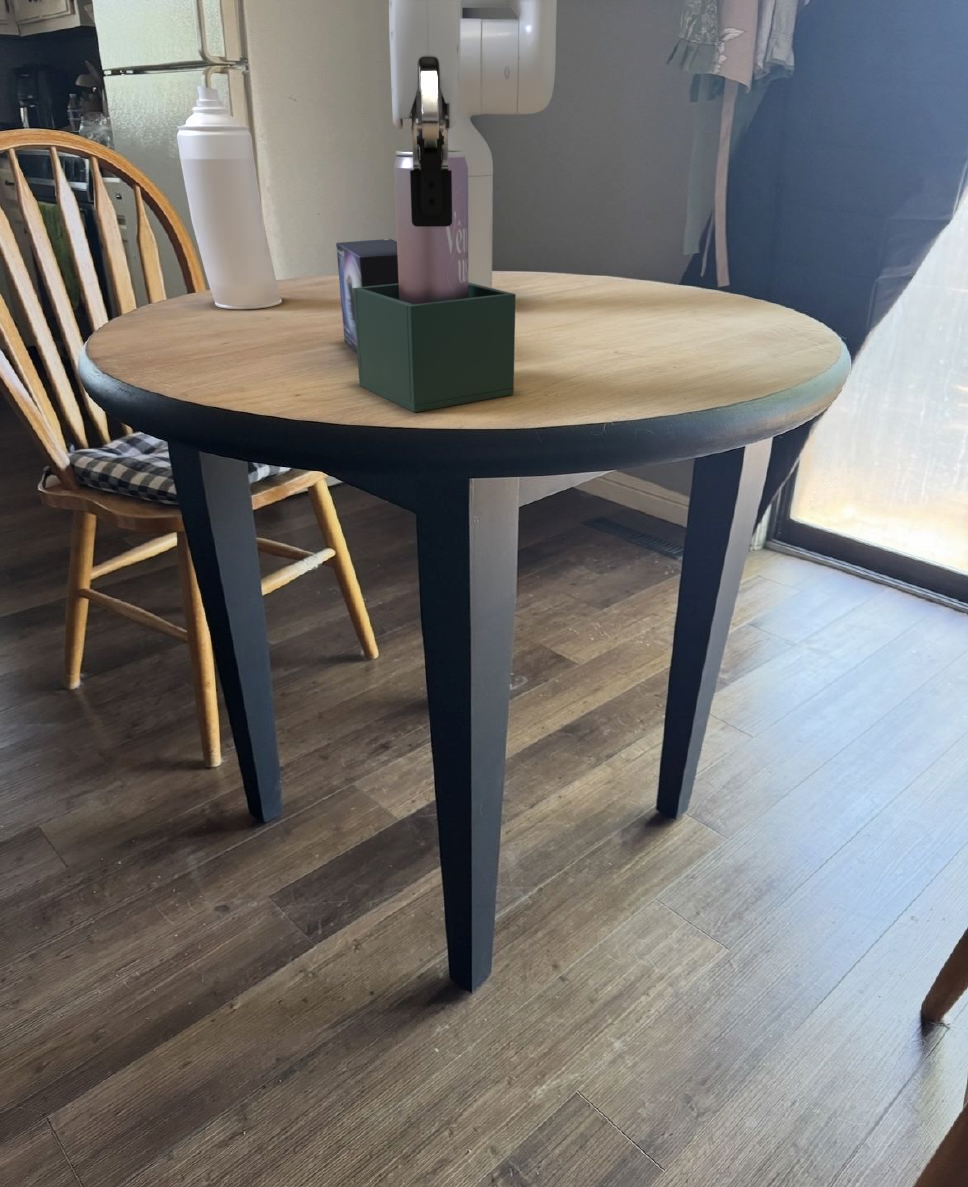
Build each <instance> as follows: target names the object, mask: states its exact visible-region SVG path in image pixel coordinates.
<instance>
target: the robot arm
mask: <svg viewBox="0 0 968 1187" xmlns="http://www.w3.org/2000/svg"><path fill="white" fill-rule="evenodd" d="M557 5H558V0H388V33H389V34H388V35H389V38H388V39H389V59H390V60H389V61H390V62H389V63H390V85H391V86H390V88H391V108H392V112H391V113H392V125H394V127H395V128H396V129H397V130H403V129H404V128H403V126H404V123H403V122H404V120H411V127H410V130H411V132H410V133H411V140H412V141H411V144H412V150H413V170H410V184H411V215H412V224H413V225H414V226H416V227H447V226H450V225H451V224H452V170H449V155H448V150H454V151H465V153H466V155H465V159H466V163H467V166H468V282H469V283H473V284H477V285H481V286H485V287H489V288H493V226H494V225H493V224H494V222H493V220H494V218H493V217H494V216H493V214H494V213H493V210H494V160H493V156H492V151H491V149H490V147H489V145H488V142H487V141H486V140H485V138H484V137H483V136H482V134H481V133H480V132H479V130H478V129H477V128H476V127H475V126H474V124H473V123H472V120H471V118H473V117H474V116H482V115H532V114H536V113H540V112H543V111H544V110H545V109H546V108H547V107H548V105H549V104H550V102H551V100H552V98H553V94H554V86H555V81H556V80H555V78H556V59H557V58H556V57H557V13H558V11H557V9H558V7H557ZM461 8H462V9H463V8H464V9H465V8H468V9H470V8H472V9H474V8H475V9H478V8H479V9H483V8H484V9H487V8H488V9H490V8H491V9H510V10H512V12H514V14H515V15H516V17H517V18H467V17H466V18H464V17H463V18H461V17H462V14H461ZM419 150H420V159H419ZM441 164H442V170H441Z"/></svg>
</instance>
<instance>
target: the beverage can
mask: <svg viewBox="0 0 968 1187" xmlns="http://www.w3.org/2000/svg"><path fill="white" fill-rule="evenodd" d="M395 155H396V157H395V162H394V166H393V178H394V179H393V180H394V204H395V205H394V206H395V207H394V208H395V225H396V226H395V227H396V230H395V231H396V242H397V255H398V279H399V300H401V301H404V302H407V303H410V304H422V303H430V302H439V301H448V300H457V299H465V298H469V282H468V166H467V163H466V159H465V155H466V153H465V151H454V150H448V155H449V170H452V224H451V225H450V226H447V227H416V226H414V225H413V224H412V215H411V184H410V170H413V149H411V150H410V149H409V150H405V149H404V150H396V151H395ZM419 159H420V150H419ZM441 170H442V164H441Z"/></svg>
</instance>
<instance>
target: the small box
mask: <svg viewBox="0 0 968 1187" xmlns="http://www.w3.org/2000/svg"><path fill="white" fill-rule="evenodd" d="M335 246H336V258H337V268H338V269H337V270H338V280H339V290H340V291H339V294H340V303H341V317H342V327H343V337H344V338H343V339H344V343H345V344H346V345H347V346H348V347H349V348H350V349H351V350H352V351H353V352H354V353H355V354H356V355H357V341H356V325H355V310H354V294H353V288H357V287H367V286H377V285H387V284H397V283H399V279H398V255H397V240H394V239H392V238H383V239H382V238H381V239H371V240H355V241H343V242H342V241H341V242H340V241H339V242H336V243H335Z"/></svg>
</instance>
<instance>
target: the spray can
mask: <svg viewBox="0 0 968 1187" xmlns="http://www.w3.org/2000/svg"><path fill="white" fill-rule="evenodd" d="M197 95H198V99H195V100H196V101H195V103H196V106H193V107H192V108H191V111H192V114H191V115H189V116H188V117H187V118H186V120H185V124H183V125H177V126H176V128H177V129H178V132H177V133H176V139H177V147H178V154H179V160H180V164H181V165H180V166H181V171H182V176H183V181H184V188H185V194H186V197H187V202H188V210H189V214H190V219H191V220H190V221H191V224H192V227H193V231H194V235H195V239H196V242H197V246H198V250H199V254H200V258H201V262H202V265H203V269H204V272H205V273H204V274H205V276H206V280H207V283H208V286H209V289H210V293H211V296H212V298H213V301H214V305H215V307H218V308H220V309H227V310H256V309H264V308H271V307H275V306H278V305H281V304H282V302H283V300H282V298H281V294H280V290H279V284H278V281H277V277H276V274H275V268H274V263H273V258H272V253H271V250H270V246H269V241H268V235H267V231H266V226H265V221H264V217H263V216H264V215H263V209H262V203H261V196H260V190H259V182H258V176H257V168H256V163H255V156H254V147H253V145H254V144H253V138H252V134H251V133H250V131H249V129H250V126H249V125H241V124H240V123H239V122H238V121H237V119H236V118H234V116H232V115H230V114H229V108H228V107H227V106H223V100H222V99H219V92H218V89H216V88H212V87H208V86H204V85H199V84H197Z"/></svg>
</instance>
